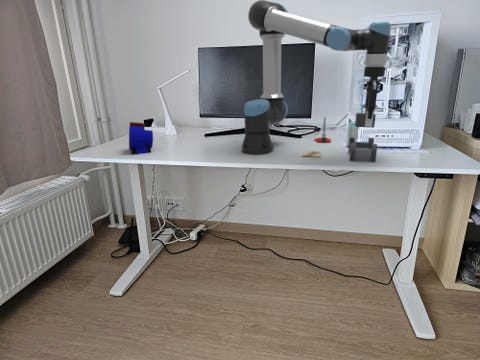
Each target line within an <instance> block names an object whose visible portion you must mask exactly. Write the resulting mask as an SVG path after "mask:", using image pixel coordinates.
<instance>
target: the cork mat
mask: <svg viewBox="0 0 480 360" xmlns="http://www.w3.org/2000/svg"><path fill="white" fill-rule="evenodd" d="M321 157H322V151H318V150H317V151H315V150H303V151H302V154H301V158H317V159H319V158H321Z"/></svg>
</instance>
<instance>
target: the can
mask: <svg viewBox="0 0 480 360" xmlns="http://www.w3.org/2000/svg"><path fill="white" fill-rule="evenodd" d="M355 121H356V120H355ZM355 121H354V120H353V121H349V124H348V125H347V134H346V135H347V137H346V147H348V146H349V139H350V137H354V138H355V140H354V142H357V139H358V129H359V127H356V126H355Z"/></svg>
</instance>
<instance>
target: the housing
mask: <svg viewBox="0 0 480 360" xmlns="http://www.w3.org/2000/svg"><path fill="white" fill-rule="evenodd" d="M354 140H355V138H354V137H350V139H349V147H348V151H347V152H348V154H349V158H348V159H349V162H365V163H366V162H367V163H368V162H370V163H376V162H377V161H376V160H377V152H378V144H377V143H375V138H374V137H368V141H362V142H354Z"/></svg>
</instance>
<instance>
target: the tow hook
mask: <svg viewBox="0 0 480 360" xmlns="http://www.w3.org/2000/svg"><path fill="white" fill-rule="evenodd" d="M322 123H323V124H322V126H323V127H322V134H321V137H316V138H314V142H316V143H317V144H318V143H323V144H324V143H325V144H326V143H329V144H330V143H331V141H332V138H329V137H327V136H326V128H327V127H326V126H327V125H326V123H327V121H326V117H323V122H322Z"/></svg>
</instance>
